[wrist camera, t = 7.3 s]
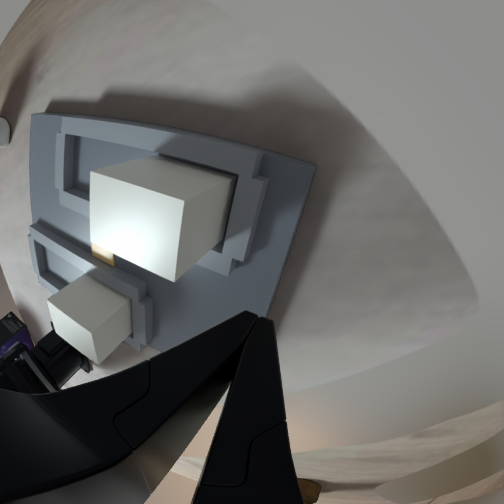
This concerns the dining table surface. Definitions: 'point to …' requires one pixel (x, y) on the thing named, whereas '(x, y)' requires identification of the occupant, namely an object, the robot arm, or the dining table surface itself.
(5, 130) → the eye dropper bottle
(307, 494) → the mortar and pestle
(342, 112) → the dining table surface
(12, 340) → the box
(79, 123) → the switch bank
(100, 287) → the tab
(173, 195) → the tab
